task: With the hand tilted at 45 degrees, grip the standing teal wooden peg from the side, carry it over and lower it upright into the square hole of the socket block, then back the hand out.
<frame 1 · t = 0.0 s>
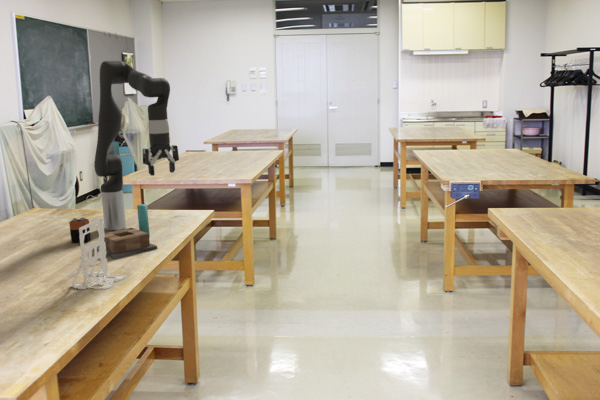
hand: (162, 173, 226), 29 cm above the table, tool pointing down, fingers open, 8 cm apart
battery: (81, 242, 243), on the table
socket block: (125, 249, 230), on the table
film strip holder: (99, 282, 193), on the table
peg: (144, 237, 247), on the table
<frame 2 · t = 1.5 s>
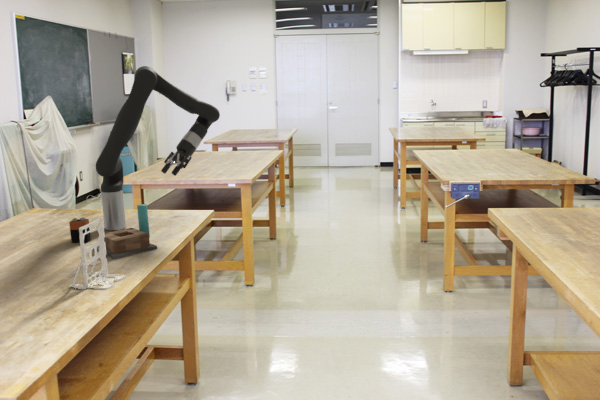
hand: (168, 173, 250), 26 cm above the table, tool tilted 45°, fingers open, 8 cm apart
nothing on the table moved.
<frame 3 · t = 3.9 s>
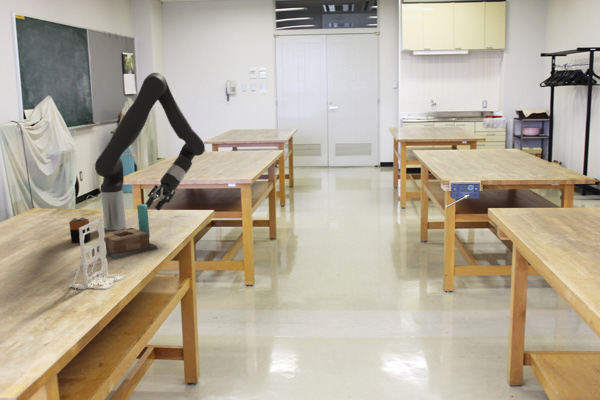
hand: (151, 207, 247), 12 cm above the table, tool tilted 45°, fingers open, 8 cm apart
nothing on the table moved.
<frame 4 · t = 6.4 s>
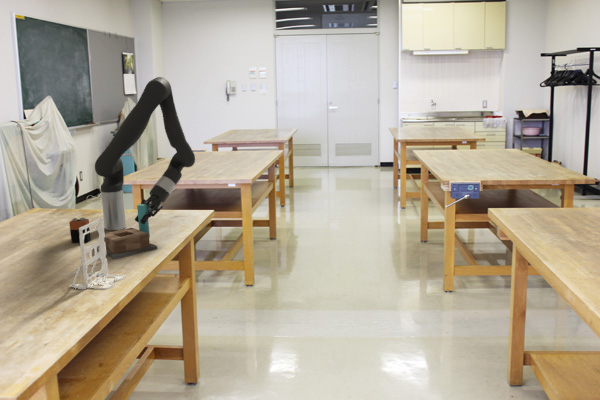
hand: (139, 221, 244), 7 cm above the table, tool tilted 45°, fingers closed on peg, 4 cm apart
peg: (144, 237, 247), on the table, touching gripper
everything else where it was.
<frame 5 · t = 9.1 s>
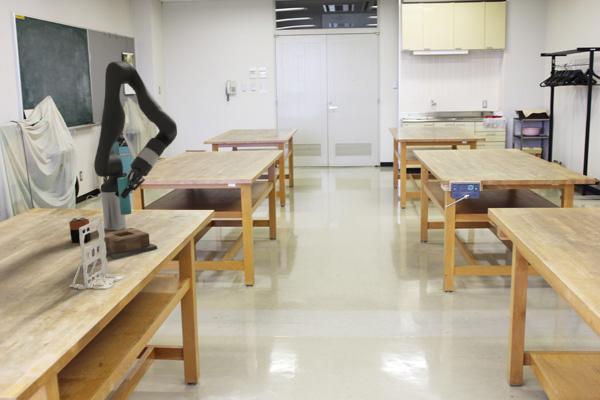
hand: (119, 196, 226), 21 cm above the table, tool tilted 45°, fingers closed on peg, 4 cm apart
peg: (126, 213, 229), point 14 cm above the table, touching gripper
everything else where it was.
when the fingers open (10 cm above the table, at t = 11.8 s): peg drops 1 cm, resting on socket block.
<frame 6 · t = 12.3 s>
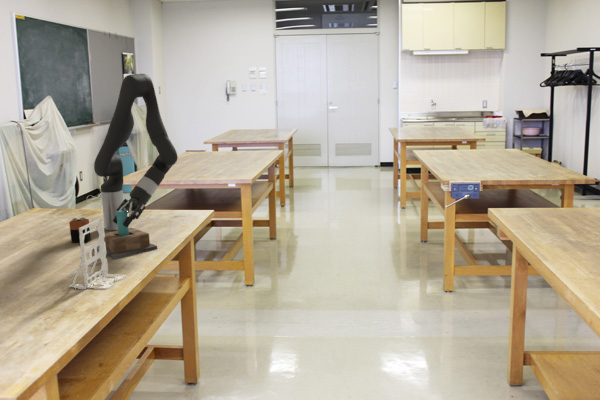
hand: (119, 224, 227), 10 cm above the table, tool tilted 45°, fingers open, 8 cm apart
peg: (125, 246, 230), point 1 cm above the table, touching socket block
everything else where it was.
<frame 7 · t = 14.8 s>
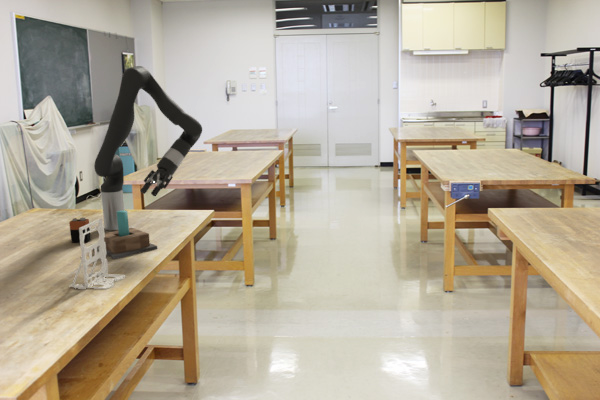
hand: (147, 193, 234), 20 cm above the table, tool tilted 45°, fingers open, 8 cm apart
nothing on the table moved.
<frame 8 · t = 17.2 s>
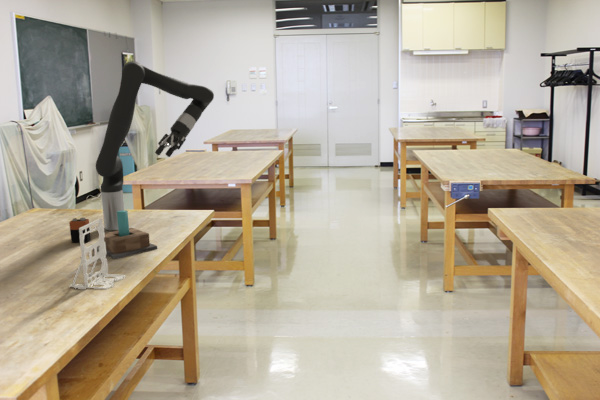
hand: (162, 154, 248), 34 cm above the table, tool tilted 45°, fingers open, 8 cm apart
nothing on the table moved.
at the end: peg 0.1 cm off-centre on the socket block, point 1.2 cm above the socket block's base; peg tilted 0°; the gripper is holding nothing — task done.
